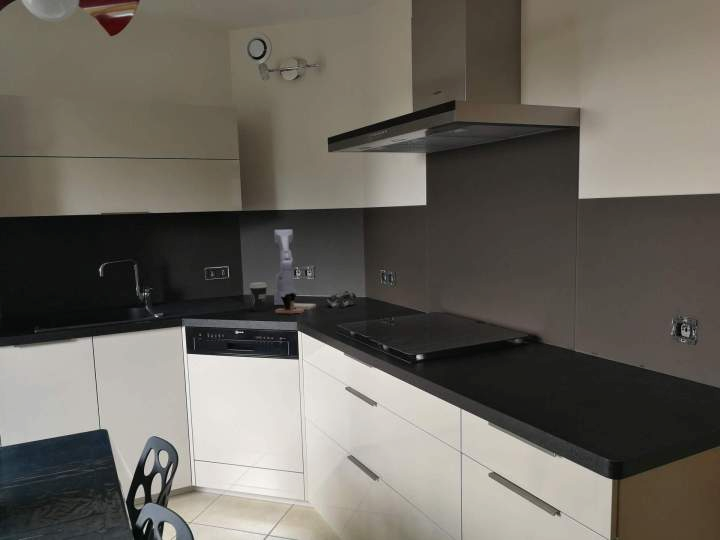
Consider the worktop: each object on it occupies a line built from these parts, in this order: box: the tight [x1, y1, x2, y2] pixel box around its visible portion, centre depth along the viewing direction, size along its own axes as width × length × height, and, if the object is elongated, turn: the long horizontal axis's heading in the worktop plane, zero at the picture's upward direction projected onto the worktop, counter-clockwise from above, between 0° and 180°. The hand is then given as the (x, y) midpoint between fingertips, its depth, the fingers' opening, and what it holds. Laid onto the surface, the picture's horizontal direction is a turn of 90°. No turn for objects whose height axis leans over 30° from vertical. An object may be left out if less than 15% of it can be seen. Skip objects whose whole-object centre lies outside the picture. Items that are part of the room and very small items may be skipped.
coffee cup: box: [248, 281, 268, 313], centre depth 307 cm, size 10×10×15 cm
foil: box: [325, 290, 357, 309], centre depth 315 cm, size 12×11×15 cm
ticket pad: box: [294, 302, 317, 310], centre depth 314 cm, size 14×9×2 cm, turn 72°
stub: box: [274, 300, 305, 314], centre depth 299 cm, size 14×5×6 cm, turn 72°
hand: (289, 308), depth 299 cm, fingers open, 3 cm apart
